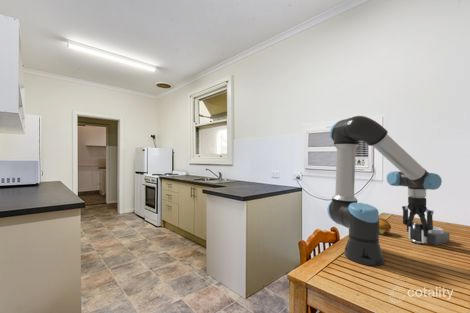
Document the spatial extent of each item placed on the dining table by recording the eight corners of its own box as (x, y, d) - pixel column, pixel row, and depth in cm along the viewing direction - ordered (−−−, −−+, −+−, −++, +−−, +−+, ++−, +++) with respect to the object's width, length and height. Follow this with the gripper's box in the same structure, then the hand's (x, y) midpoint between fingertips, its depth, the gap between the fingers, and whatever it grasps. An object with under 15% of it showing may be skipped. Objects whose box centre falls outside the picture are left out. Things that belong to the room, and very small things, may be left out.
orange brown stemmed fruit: (383, 229, 138) (386, 215, 136) (393, 239, 128) (396, 224, 126) (366, 229, 139) (368, 214, 137) (375, 238, 129) (378, 223, 127)
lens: (420, 245, 113) (420, 225, 113) (408, 241, 118) (408, 222, 118) (426, 243, 115) (426, 224, 115) (414, 240, 120) (414, 221, 120)
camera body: (435, 245, 114) (435, 231, 114) (416, 239, 122) (415, 226, 122) (449, 241, 119) (449, 228, 119) (429, 236, 127) (429, 224, 127)
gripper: (442, 199, 110) (442, 245, 110) (402, 193, 127) (402, 234, 126) (433, 200, 107) (434, 247, 107) (394, 194, 124) (394, 235, 124)
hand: (417, 240), depth 117 cm, fingers closed on lens, 5 cm apart
